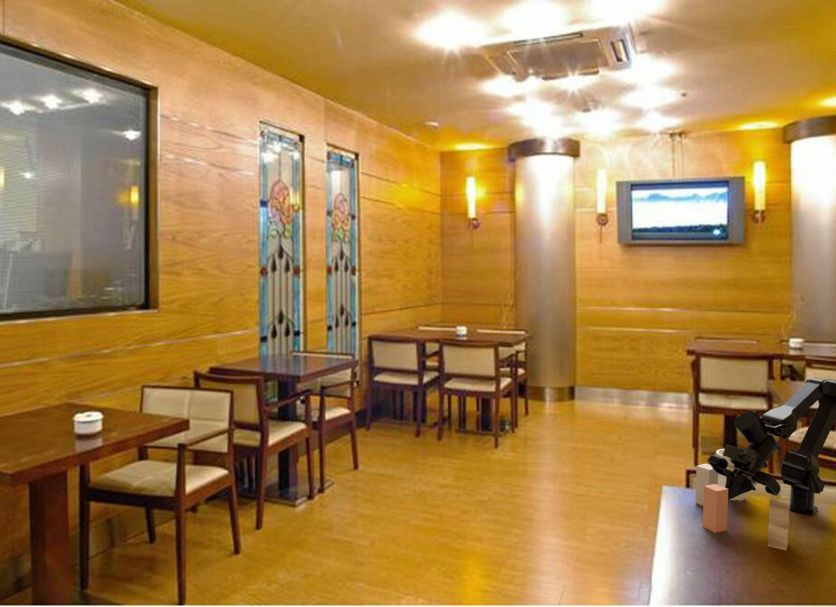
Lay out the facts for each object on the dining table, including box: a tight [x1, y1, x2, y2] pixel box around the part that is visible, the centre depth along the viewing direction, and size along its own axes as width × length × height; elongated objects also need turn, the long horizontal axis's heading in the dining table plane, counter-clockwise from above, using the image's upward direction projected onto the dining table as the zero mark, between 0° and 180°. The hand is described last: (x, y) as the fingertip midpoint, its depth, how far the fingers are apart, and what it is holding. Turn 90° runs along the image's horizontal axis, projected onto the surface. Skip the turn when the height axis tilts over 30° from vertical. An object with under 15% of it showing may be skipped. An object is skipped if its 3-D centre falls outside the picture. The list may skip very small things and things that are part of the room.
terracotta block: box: [702, 484, 729, 534], centre depth 163 cm, size 4×4×11 cm
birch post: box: [767, 496, 791, 551], centre depth 153 cm, size 4×4×11 cm
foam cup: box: [715, 448, 746, 501], centre depth 184 cm, size 10×9×13 cm
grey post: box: [694, 463, 719, 506], centre depth 179 cm, size 4×4×11 cm
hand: (724, 499), depth 164 cm, fingers closed
